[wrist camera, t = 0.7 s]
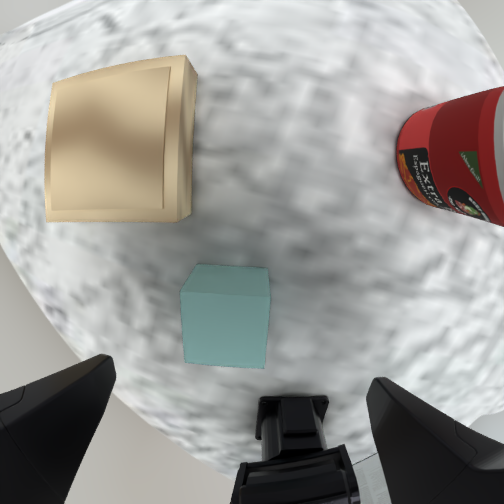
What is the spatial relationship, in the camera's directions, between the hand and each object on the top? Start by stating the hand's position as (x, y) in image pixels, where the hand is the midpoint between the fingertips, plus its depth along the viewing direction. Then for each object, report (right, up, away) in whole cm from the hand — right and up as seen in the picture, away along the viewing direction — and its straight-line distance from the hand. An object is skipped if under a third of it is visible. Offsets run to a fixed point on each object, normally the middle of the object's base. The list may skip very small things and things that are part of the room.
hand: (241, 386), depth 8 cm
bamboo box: (-9, +12, +10) cm, 18 cm away
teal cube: (-1, +1, +12) cm, 12 cm away
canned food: (+14, +12, +9) cm, 21 cm away
